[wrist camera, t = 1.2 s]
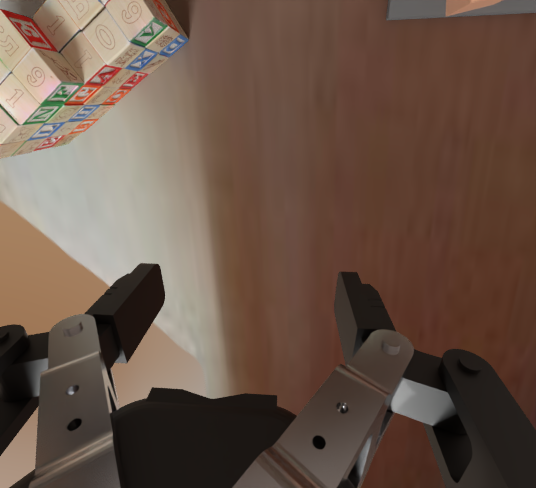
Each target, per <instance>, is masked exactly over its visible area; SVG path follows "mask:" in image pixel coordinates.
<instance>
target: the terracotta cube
mask: <svg viewBox="0 0 536 488" xmlns="http://www.w3.org/2000/svg"><path fill="white" fill-rule="evenodd" d="M500 1H502V0H446V16H450V15H454V14H458V13H462V12H466V11H470V10H474V9H478V8H482V7H486V6H490V5H494V4H496V3H498V2H500Z"/></svg>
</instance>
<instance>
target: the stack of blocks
mask: <svg viewBox="0 0 536 488" xmlns="http://www.w3.org/2000/svg"><path fill="white" fill-rule="evenodd" d="M188 40H189V39H188V37H187V36H186V34H185V32H184V31H183V29H182V28H181V26H180V24H179V23H178V21H177V20H176V18H175V16H174V15H173V13H172V12H171V10H170V8H169V6H168V5H167V3H166V1H165V0H46V1H45V2H44V3H43V4H42V6H41V7H40V8H39V9H38V11H37V12H36V13H35V15H34V17H33V19H31V18H29V17H26V16H23V15H19V14H16V13H13V12H9V11H6V10H2V9H0V159H1V158H5V157H9V156H16V155H20V154H25V153H30V152H32V151H36V150H41V149H45V148H50V147H58V146H62V145H66V144H69V143H70V142H71V141H72V140H73V139H75V138H76V137H77V136H78V135H79V134H81V133H82V132H84V131H85V130H86V129H88V128H89V127H90V126H91V125H92V124H93V123H95V122H96V121H97V120H98V119H99V118H101V117H102V116H103V115H104V114H105V113H107V112H108V111H109V110H110V109H111V108H112V107H114V105H115V103H116V102H118V101H119V100H120V99H121V98H122V97H123V96H125V95H126V94H127V93H128V92H129V91H130V90H131V89H132V88H133V87H134V86H135V85H137V84H138V83H139V82H140V81H141V80H142V79H143V78H145V77H146V76H147V75H148V74H151V73H152V72H153V71H154V70H156V69H157V68H158V67H159V66H160V65H161V64H163V63H164V62H165V61H166V60H167V59H168V58H169V57H170V56H171V55H173V54H174V53H175V52H176V51H177V50H178V49H179V48H181V47H182V46H183V45H184V44H185V43H186V42H187V41H188Z"/></svg>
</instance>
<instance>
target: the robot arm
mask: <svg viewBox="0 0 536 488" xmlns="http://www.w3.org/2000/svg"><path fill="white" fill-rule="evenodd" d="M164 300H165V291H164V285H163V280H162V274H161V269H160V266H159V265H158V264H147V263H140V264H139V265H138V266H137V267H136V268H135V269H134V270H133V271H132V272H131V274H126V275H125V276H123V277H121V278H120V279H118V280H117V281H116V282H115V283H114V284H113V285H112V286H111V287H110V289H108V290H107V291H106V292H105V294H104V295H102V296H101V297H100V298H99V299H98V301H96V302H95V303H94V304H93V305H92V306H91V307H90V308H89V310H88V311H87V312H86V313H85V314H79V315H74V316H71V317H68V318H66V319H64V320H62V321H60V322H59V323H57V324H56V325H54V326H53V328H52V329H51V331H50V332H46V333H40V334H34V335H27V333H26V331H25V329H24V327H23V326H21V325H7V326H2V327H0V456H1V454H2V453H3V452H4V450H5V449H6V448H7V447H8V445H9V444H10V442H11V441H12V440H13V439H14V437H15V436H16V435H17V433H18V432H19V431H20V429H21V428H22V427H23V426H24V424H25V423H26V422H27V420H28V419H29V418H30V416H31V415H32V414H33V412H34V411H35V410H36V408H37V407H38V406H39V408H38V428H37V446H36V465H35V469H34V470H33V471H32V472H30V473H29V474H27V475H26V476H25V477H23V478H22V479H21V480H19V481H18V482H16V483H15V484H14V485H12V486H11V487H10V488H360V487H361V484H362V482H363V480H364V478H365V476H366V474H367V471H368V469H369V466H370V464H371V461H372V458H373V456H374V454H375V452H376V450H377V448H378V446H379V444H380V442H381V440H382V438H383V436H384V434H385V432H386V430H387V428H388V426H389V424H390V421H391V419H392V417H393V415H394V413H395V412H396V413H399V414H402V415H404V416H407V417H410V418H413V419H415V420H418V421H421V422H423V424H424V427H425V430H426V433H427V435H428V438H429V441H430V444H431V447H432V449H433V452H434V455H435V458H436V461H437V464H438V466H439V469H440V472H441V475H442V478H443V480H444V483H445V486H446V488H536V430H535V428H534V427H533V426H532V424H531V423H530V421H529V420H528V418H527V417H526V415H525V414H524V412H523V411H522V410H521V408H520V407H519V405H518V404H517V402H516V401H515V399H514V398H513V397H512V395H511V394H510V392H509V391H508V389H507V388H506V386H505V385H504V384H503V382H502V381H501V379H500V378H499V376H498V375H497V373H496V372H495V370H494V369H493V368H492V367H491V365H490V364H489V363H488V362H486V361H485V360H484V359H482V358H481V357H479V356H478V355H476V354H474V353H471V352H469V351H465V350H461V349H451V350H448V351H446V352H445V353H444V354H443V357H442V358H440V357H436V356H433V355H429V354H426V353H423V352H420V351H417V350H415V349H414V348H413V345H412V344H411V342H410V341H409V340H408V339H407V338H406V337H405V336H403V335H401V334H400V333H398V332H396V330H395V328H394V325H393V323H392V321H391V319H390V317H389V315H388V313H387V310H386V308H385V306H384V304H383V302H382V300H381V298H380V295H379V293H378V291H377V290H375V289H374V288H373V287H372V286H371V285H370V284H362V283H361V281H360V278H359V276H358V273H357V272H339V274H338V280H337V287H336V295H335V303H334V310H335V317H336V322H337V327H338V331H339V336H340V341H341V345H342V350H343V355H344V359H345V364H346V367H345V366H344V365H342V364H340V365H338V366H337V367H336V368H335V370H334V371H333V372H332V373H331V375H330V376H329V377H328V378H327V380H326V381H325V382H324V383H323V384H322V386H321V387H320V388H319V389H318V391H317V392H316V393H315V394H314V396H313V397H312V398H311V399H310V401H309V402H308V403H307V404H306V406H305V407H304V408H303V409H302V411H301V412H300V413H299V414H298V416H296V415H295V414H293V413H291V412H290V411H288V410H286V409H284V408H281V407H278V406H277V396H276V395H261V394H240V395H234V396H229V397H223V398H217V399H209V398H206V397H203V396H200V395H197V394H194V393H191V392H188V391H185V390H183V389H168V388H152V389H151V391H150V393H149V395H148V397H147V398H146V399H142V400H139V401H135V402H133V403H130V404H127V405H125V406H124V407H121V408H120V406H119V401H118V397H117V392H116V387H115V382H114V378H113V373H112V370H111V367H112V366H113V364H114V363H128V361H129V359H130V358H131V356H132V355H133V353H134V351H135V350H136V348H137V347H138V345H139V343H140V342H141V340H142V338H143V337H144V335H145V333H146V332H147V330H148V329H149V327H150V326H151V324H152V322H153V321H154V319H155V318H156V316H157V314H158V313H159V311H160V310H161V308H162V306H163V304H164Z"/></svg>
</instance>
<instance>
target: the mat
mask: <svg viewBox="0 0 536 488" xmlns="http://www.w3.org/2000/svg"><path fill="white" fill-rule="evenodd" d="M519 13H536V0H502V1H500V2H498V3H496V4H494V5H490V6H486V7H482V8H478V9H474V10H470V11H466V12H462V13H458V14H454V15H450V16H446V0H388V8H387V16H386V20H401V19H420V18H440V17H460V16H480V15H500V14H519Z"/></svg>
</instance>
